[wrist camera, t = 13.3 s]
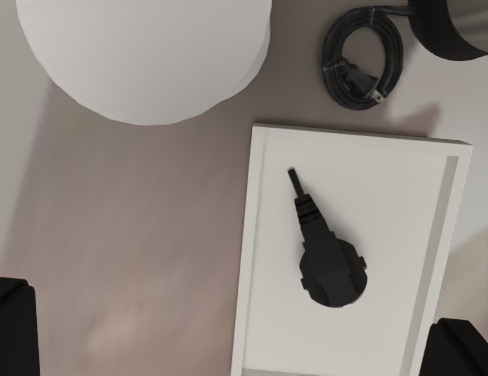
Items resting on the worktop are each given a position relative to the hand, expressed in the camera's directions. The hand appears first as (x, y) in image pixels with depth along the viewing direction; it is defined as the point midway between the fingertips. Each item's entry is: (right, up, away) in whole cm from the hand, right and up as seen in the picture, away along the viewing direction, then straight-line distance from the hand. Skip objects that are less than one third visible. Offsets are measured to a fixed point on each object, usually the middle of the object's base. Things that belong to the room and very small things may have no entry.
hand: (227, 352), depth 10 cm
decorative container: (-3, +17, +25) cm, 30 cm away
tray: (+9, -4, +30) cm, 32 cm away
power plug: (+7, 0, +29) cm, 30 cm away
